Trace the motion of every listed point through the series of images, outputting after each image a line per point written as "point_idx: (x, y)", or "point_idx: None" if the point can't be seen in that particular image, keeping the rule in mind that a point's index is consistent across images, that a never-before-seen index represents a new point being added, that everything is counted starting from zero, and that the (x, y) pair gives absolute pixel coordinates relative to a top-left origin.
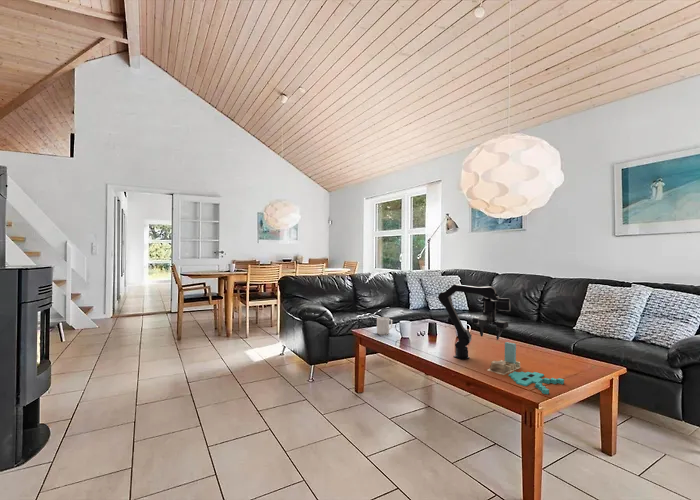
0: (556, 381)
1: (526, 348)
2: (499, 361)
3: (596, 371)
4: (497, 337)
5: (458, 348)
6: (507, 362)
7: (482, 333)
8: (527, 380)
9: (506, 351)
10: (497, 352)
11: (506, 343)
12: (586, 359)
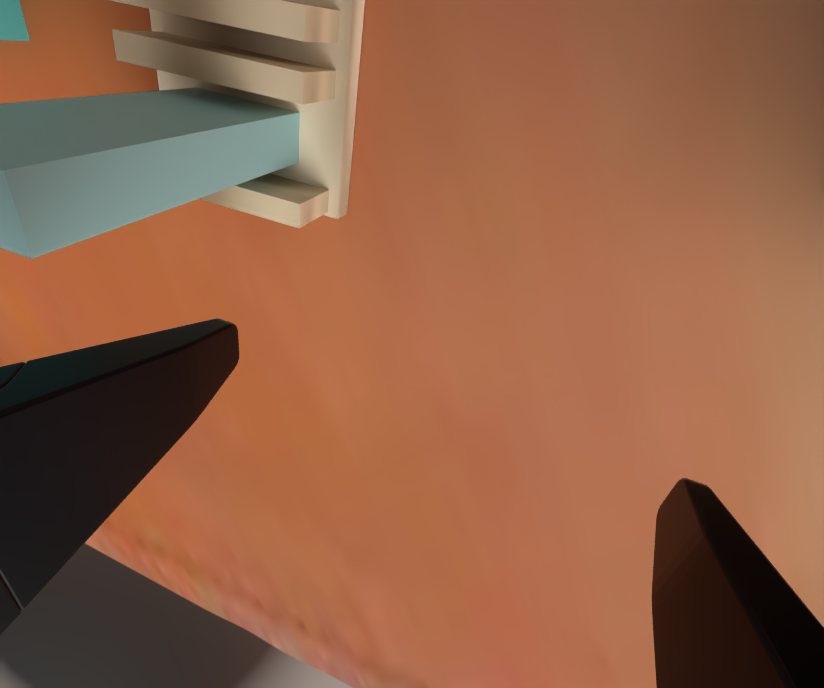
0: None
1: (381, 660)
2: (288, 9)
3: None
4: (157, 333)
5: None
6: (202, 48)
7: (672, 583)
8: None
9: (136, 132)
10: (526, 550)
11: None
12: (109, 554)
